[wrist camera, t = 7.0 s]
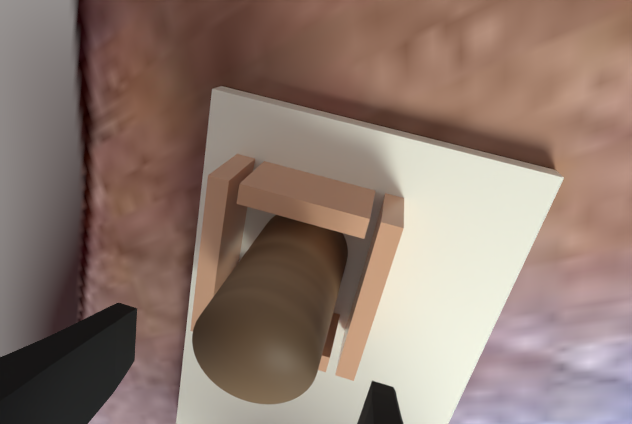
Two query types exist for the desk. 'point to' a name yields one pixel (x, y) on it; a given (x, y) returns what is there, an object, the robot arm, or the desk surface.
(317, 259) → the walnut peg
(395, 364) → the off-white board
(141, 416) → the desk surface
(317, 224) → the square wooden frame
